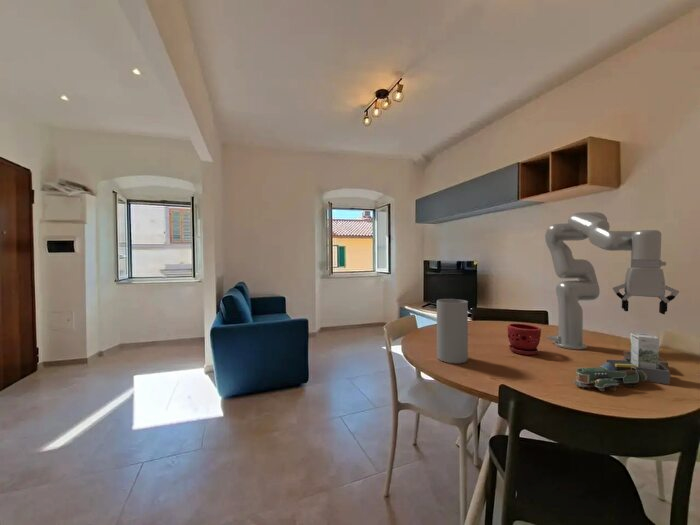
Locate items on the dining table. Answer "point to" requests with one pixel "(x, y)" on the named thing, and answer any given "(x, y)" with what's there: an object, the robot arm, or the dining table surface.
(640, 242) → the robot arm
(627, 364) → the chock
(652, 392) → the dining table surface
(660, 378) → the tray
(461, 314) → the cylinder vase
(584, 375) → the green toy hover car
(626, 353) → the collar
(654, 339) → the syrup box
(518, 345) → the plant pot
